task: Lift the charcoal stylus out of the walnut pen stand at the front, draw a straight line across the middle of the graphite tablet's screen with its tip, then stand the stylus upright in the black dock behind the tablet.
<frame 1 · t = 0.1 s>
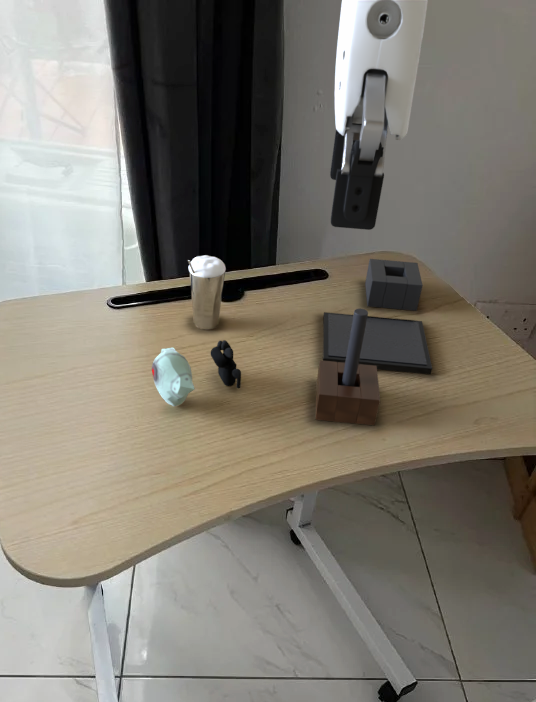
hand: (350, 201, 52), 26 cm above the table, tool pointing down, fingers open, 9 cm apart
dock: (390, 296, 94), on the table
robot head: (172, 405, 73), on the table
pen stand: (344, 404, 74), on the table
wireless earbuds: (222, 383, 76), on the table
stylus: (352, 360, 70), in the pen stand
tablet: (373, 344, 84), on the table
milkshake: (203, 325, 86), on the table
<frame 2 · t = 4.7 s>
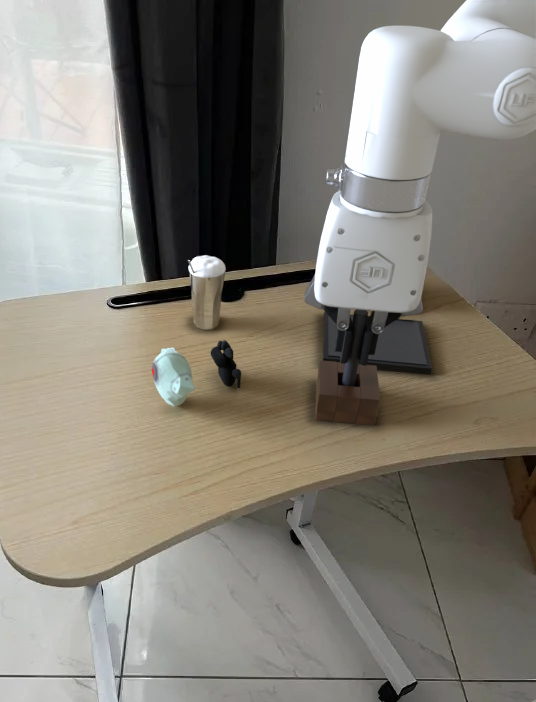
hand: (353, 356, 70), 7 cm above the table, tool pointing down, fingers closed on stylus, 1 cm apart
stylus: (352, 360, 70), in the pen stand, touching gripper
everything else where it was.
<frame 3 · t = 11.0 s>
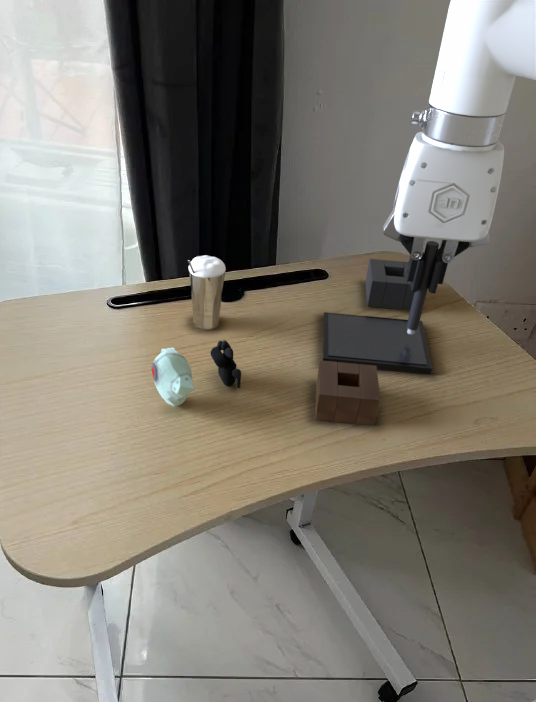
hand: (422, 286, 78), 9 cm above the table, tool pointing down, fingers closed on stylus, 1 cm apart
stylus: (421, 290, 79), point 8 cm above the table, touching gripper
everything else where it was.
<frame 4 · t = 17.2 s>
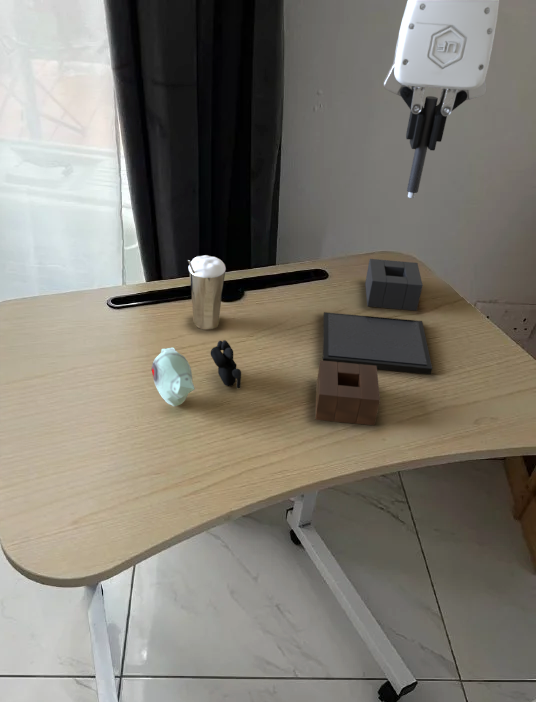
hand: (422, 145, 81), 21 cm above the table, tool pointing down, fingers closed on stylus, 1 cm apart
stylus: (421, 149, 81), point 21 cm above the table, touching gripper
everything else where it was.
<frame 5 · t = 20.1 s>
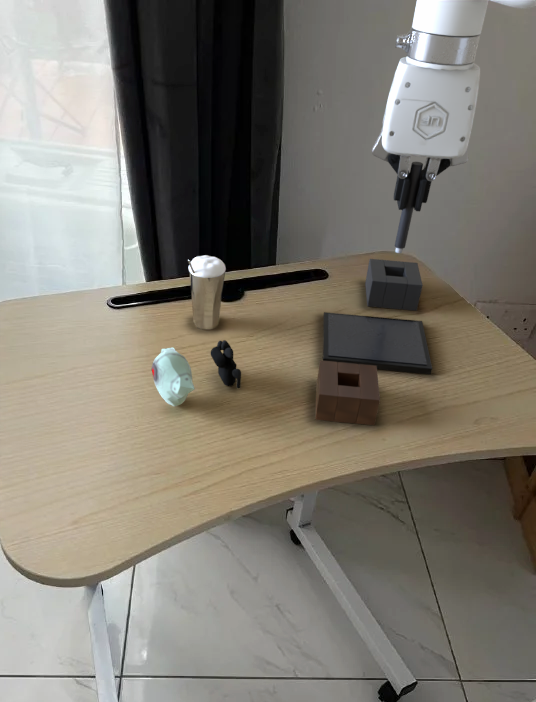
hand: (408, 205, 86), 13 cm above the table, tool pointing down, fingers closed on stylus, 1 cm apart
stylus: (407, 209, 86), point 13 cm above the table, touching gripper
everything else where it was.
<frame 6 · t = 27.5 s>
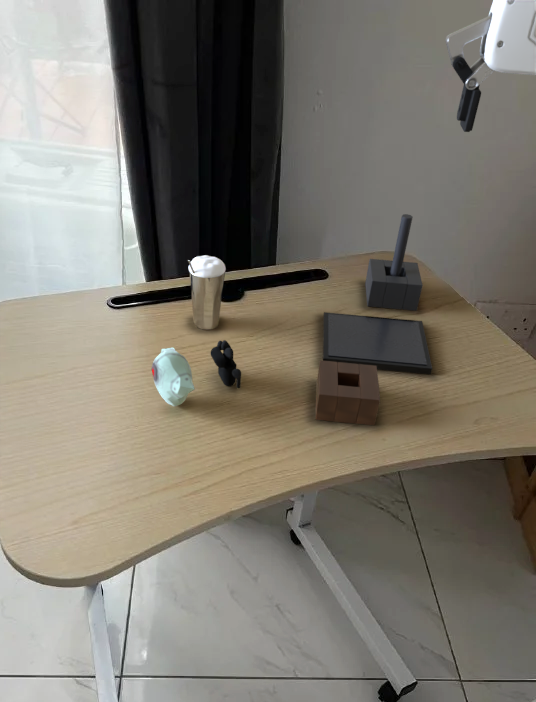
hand: (512, 131, 69), 26 cm above the table, tool pointing down, fingers open, 9 cm apart
stylus: (398, 258, 90), in the dock
everything else where it was.
at the end: dock 0.0 cm off-centre in the dock, point 0.0 cm above the dock's base; stylus 0.0 cm off-centre in the dock, point 6.0 cm above the dock's base; stylus tilted 0° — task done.
